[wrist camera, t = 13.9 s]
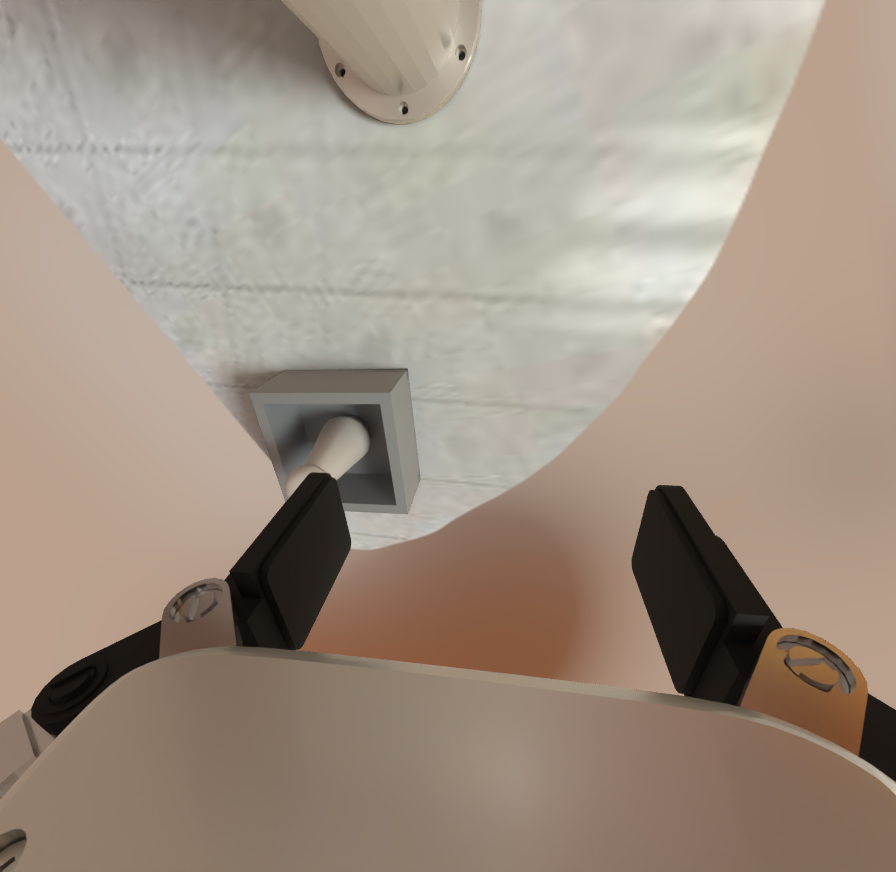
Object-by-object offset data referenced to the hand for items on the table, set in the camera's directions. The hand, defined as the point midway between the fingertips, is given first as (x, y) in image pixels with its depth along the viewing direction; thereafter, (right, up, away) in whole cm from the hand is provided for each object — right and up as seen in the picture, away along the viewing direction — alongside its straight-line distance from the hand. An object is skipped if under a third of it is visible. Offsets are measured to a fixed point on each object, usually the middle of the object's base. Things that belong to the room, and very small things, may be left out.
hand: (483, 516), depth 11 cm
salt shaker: (-13, +3, +34) cm, 37 cm away
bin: (-13, +4, +35) cm, 37 cm away
